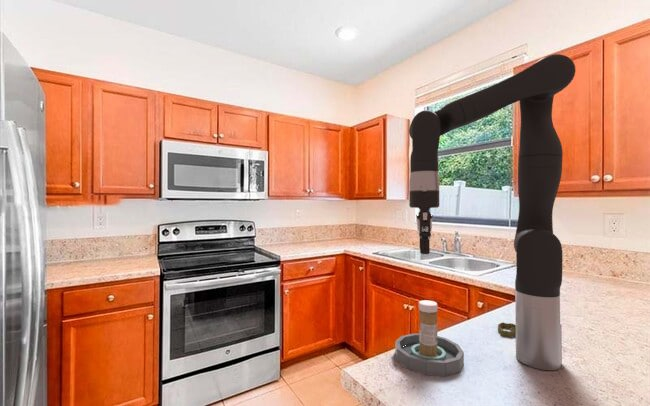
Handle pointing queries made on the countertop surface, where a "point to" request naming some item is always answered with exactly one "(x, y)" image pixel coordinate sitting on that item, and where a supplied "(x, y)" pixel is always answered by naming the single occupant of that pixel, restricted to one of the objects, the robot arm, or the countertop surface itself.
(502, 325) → the cookie cutter
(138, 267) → the countertop surface
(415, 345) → the grey ring dish
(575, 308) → the countertop surface
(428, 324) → the sprinkles bottle
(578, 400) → the countertop surface
